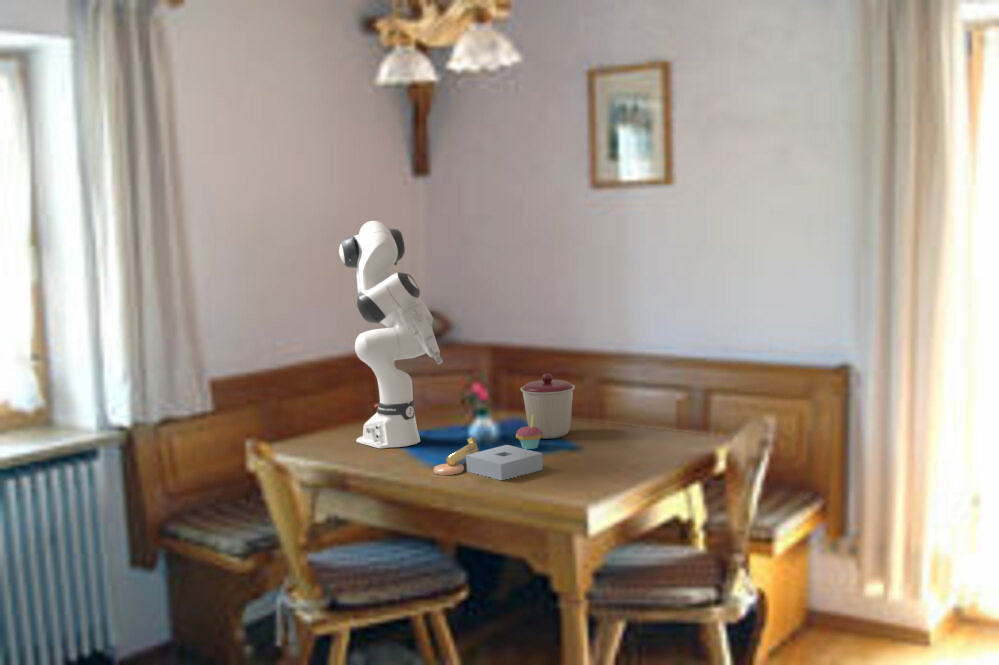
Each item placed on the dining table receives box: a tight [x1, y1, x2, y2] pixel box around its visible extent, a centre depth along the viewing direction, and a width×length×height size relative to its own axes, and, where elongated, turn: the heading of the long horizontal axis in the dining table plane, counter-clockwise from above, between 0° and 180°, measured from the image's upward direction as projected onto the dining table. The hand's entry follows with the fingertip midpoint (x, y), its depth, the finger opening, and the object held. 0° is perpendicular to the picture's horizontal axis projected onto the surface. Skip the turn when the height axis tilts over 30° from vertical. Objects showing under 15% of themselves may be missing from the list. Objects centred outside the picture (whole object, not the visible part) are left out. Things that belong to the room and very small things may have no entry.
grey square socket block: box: [465, 444, 544, 481], centre depth 307 cm, size 16×16×5 cm
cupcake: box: [515, 412, 543, 450], centre depth 332 cm, size 9×8×12 cm
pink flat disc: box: [433, 463, 465, 476], centre depth 310 cm, size 9×9×1 cm
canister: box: [520, 373, 576, 440], centre depth 347 cm, size 18×18×21 cm
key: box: [445, 436, 480, 466], centre depth 318 cm, size 3×6×17 cm
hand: (438, 357), depth 312 cm, fingers open, 8 cm apart
